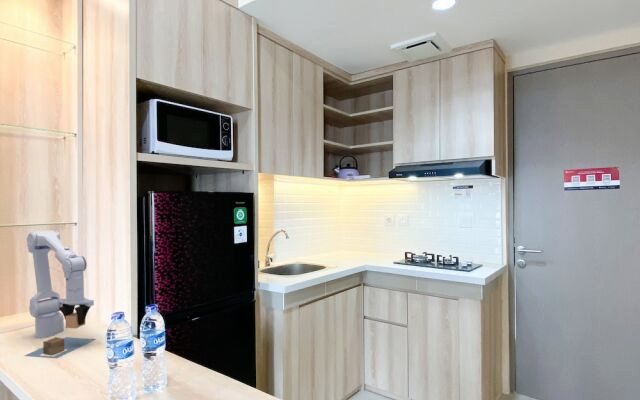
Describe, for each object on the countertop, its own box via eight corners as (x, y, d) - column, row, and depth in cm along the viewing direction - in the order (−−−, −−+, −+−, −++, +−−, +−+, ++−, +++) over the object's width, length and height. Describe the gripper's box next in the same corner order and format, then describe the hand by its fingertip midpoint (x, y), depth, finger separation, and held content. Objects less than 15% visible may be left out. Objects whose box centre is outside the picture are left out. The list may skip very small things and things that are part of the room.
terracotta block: (75, 323, 146) (75, 312, 146) (85, 324, 145) (85, 312, 145) (65, 327, 142) (65, 316, 142) (76, 328, 141) (75, 316, 141)
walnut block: (43, 354, 135) (43, 341, 135) (55, 349, 140) (55, 337, 140) (52, 355, 134) (52, 343, 134) (64, 350, 138) (64, 338, 138)
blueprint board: (66, 339, 152) (66, 336, 152) (96, 341, 150) (96, 338, 150) (23, 358, 134) (23, 355, 134) (57, 360, 132) (57, 358, 132)
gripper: (99, 286, 146) (100, 321, 146) (67, 285, 148) (67, 319, 149) (85, 291, 139) (85, 327, 139) (51, 290, 142) (52, 325, 142)
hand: (75, 324), depth 143 cm, fingers closed on terracotta block, 4 cm apart
